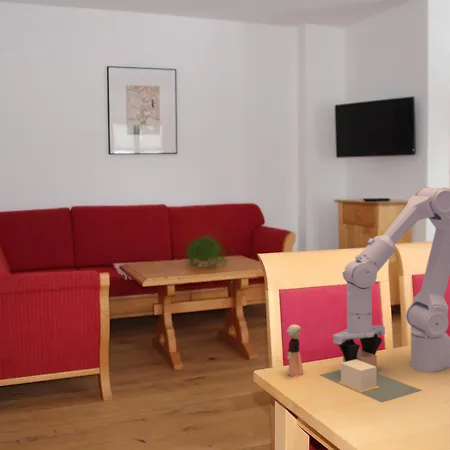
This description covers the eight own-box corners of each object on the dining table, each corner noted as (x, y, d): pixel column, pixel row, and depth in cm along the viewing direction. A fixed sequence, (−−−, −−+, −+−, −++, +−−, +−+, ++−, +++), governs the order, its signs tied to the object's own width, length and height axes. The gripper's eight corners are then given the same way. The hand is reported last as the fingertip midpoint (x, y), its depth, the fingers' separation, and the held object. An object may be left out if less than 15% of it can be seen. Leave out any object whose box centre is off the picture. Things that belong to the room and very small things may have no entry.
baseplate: (357, 368, 144) (357, 365, 144) (422, 393, 127) (422, 389, 127) (319, 378, 138) (319, 374, 138) (381, 406, 121) (381, 401, 121)
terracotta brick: (357, 366, 143) (357, 348, 143) (376, 374, 137) (376, 355, 137) (343, 370, 141) (342, 352, 140) (362, 378, 135) (361, 359, 135)
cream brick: (356, 378, 135) (356, 359, 134) (376, 386, 129) (376, 366, 129) (340, 382, 132) (340, 362, 132) (360, 391, 127) (360, 370, 126)
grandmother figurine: (302, 382, 135) (301, 328, 134) (285, 382, 136) (284, 328, 135) (304, 371, 143) (303, 320, 142) (288, 371, 144) (287, 320, 143)
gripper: (347, 320, 131) (348, 379, 132) (394, 311, 138) (394, 367, 139) (326, 314, 137) (327, 370, 138) (372, 305, 144) (372, 359, 145)
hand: (359, 368), depth 139 cm, fingers closed on terracotta brick, 5 cm apart
